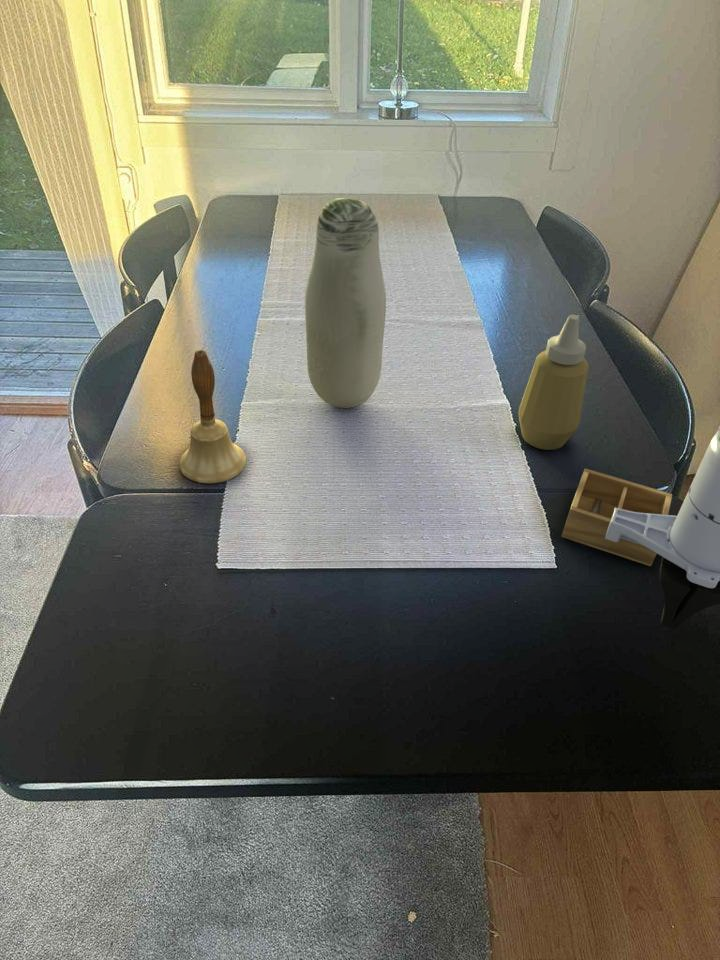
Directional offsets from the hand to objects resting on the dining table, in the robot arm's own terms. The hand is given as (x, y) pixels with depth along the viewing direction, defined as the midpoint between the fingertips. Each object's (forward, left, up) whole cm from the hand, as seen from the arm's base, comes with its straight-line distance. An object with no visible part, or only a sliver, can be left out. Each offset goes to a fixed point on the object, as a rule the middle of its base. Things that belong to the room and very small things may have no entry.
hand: (670, 618), depth 60 cm
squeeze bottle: (+7, -37, -10) cm, 39 cm away
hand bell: (+49, -24, -10) cm, 55 cm away
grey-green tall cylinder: (+35, -41, -10) cm, 55 cm away
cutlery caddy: (0, -21, -9) cm, 23 cm away
